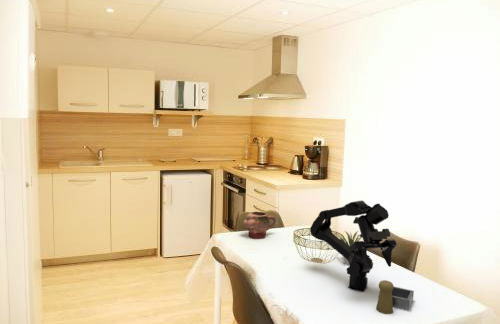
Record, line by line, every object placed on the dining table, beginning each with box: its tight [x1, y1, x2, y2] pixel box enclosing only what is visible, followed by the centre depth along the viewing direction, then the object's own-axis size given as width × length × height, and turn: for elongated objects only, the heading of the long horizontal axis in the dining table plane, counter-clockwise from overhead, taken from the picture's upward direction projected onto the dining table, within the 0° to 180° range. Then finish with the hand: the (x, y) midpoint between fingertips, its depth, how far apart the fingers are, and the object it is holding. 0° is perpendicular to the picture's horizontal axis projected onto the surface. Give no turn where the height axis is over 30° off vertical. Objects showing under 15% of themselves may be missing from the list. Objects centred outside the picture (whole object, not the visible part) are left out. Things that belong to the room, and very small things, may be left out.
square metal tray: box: [392, 285, 415, 312], centre depth 159 cm, size 10×10×4 cm
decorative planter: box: [243, 211, 277, 240], centre depth 240 cm, size 20×12×14 cm, turn 116°
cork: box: [375, 280, 394, 315], centre depth 153 cm, size 6×6×11 cm
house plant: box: [338, 230, 363, 266], centre depth 200 cm, size 14×14×16 cm
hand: (380, 267), depth 158 cm, fingers open, 9 cm apart
